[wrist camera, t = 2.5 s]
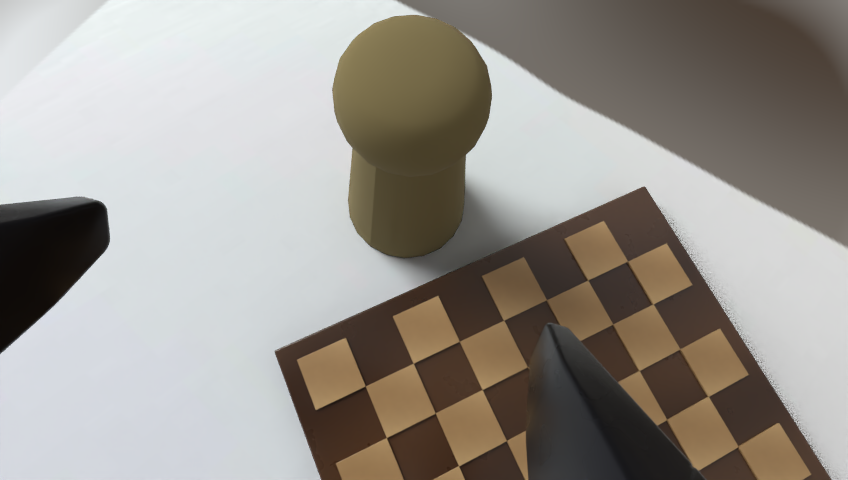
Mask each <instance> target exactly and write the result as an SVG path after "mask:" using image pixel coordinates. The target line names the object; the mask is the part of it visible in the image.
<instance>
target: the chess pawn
mask: <svg viewBox="0 0 848 480" xmlns="http://www.w3.org/2000/svg"><path fill="white" fill-rule="evenodd" d="M332 91H333V101H334V111H335V115H336V119H337V122H338V124H339V126H340V128H341V130H342V132H343V134H344V136H345V138H346V140H347V142H348V143H349V144H350V145H351V147H352V148H353V149H352V161H351V173H350V184H349V196H348V203H349V213H350V218H351V220H352V222H353V225H354V227H355V229H356V231H357V233H358V234H359V235H360V236H361V237H362V238H363V239H364V240H365V241H366V242H367V243H368V244H369V245H370V246H371V247H373V248H375V249H377V250H379V251H381V252H382V253H384V254H386V255H391V256H397V257H402V258H409V257H417V256H424V255H426V254H428V253H431V252H433V251H435V250H437V249H439V248H441V247H442V246H443V245H444V244H445V243H446V242H447V241H448V240H449V239H451V238H452V237H453V236H454V234H455V232H456V230H457V228H458V226H459V224H460V223H461V221H462V215H463V208H464V193H465V161H466V154H467V153H468V152H469V151H470V150H471V149H472V148H473V147H474V146H475V145H476V143H477V141H478V139H479V138H480V136H481V134H482V132H483V130H484V129H485V127H486V124H487V121H488V119H489V113H490V106H491V100H492V90H491V83H490V78H489V74H488V69H487V65H486V64H485V62H484V60H483V59H482V57H481V56H480V54H479V52H478V51H477V49H476V47H475V46H474V45H473V43H472V42H471V41H470V40H469V39H468V38H467V37H466V36H465V35H463V34H462V33H461V32H460V31H459V30H458V29H456V28H455V27H453V26H451V25H449V24H446V23H445V22H442V21H440V20H438V19H435V18H430V17H424V16H419V15H406V16H394V17H391V18H388V19H385V20H382V21H380V22H377V23H374V24H373V25H371V26H370V27H369V28H367V29H366V30H364V31H363V32H362V33H360V34H359V35H358V36H357V37H356V38H355V39H354V40H353V41H352V42H351V44H350V45H349V46H348V48H347V49H346V51H345V52H344V53H343V55H342V56H341V58H340V60H339V63H338V67H337V71H336V74H335V78H334V83H333V88H332Z"/></svg>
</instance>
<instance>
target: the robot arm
mask: <svg viewBox="0 0 848 480" xmlns="http://www.w3.org/2000/svg"><path fill="white" fill-rule="evenodd" d="M109 242H110V233H109V224H108V215H107V208H106V206H105V205H104V204H103V203H102V202H100V201H97V200H93V199H90V198H86V197H71V198H61V199H52V200H42V201H32V202H23V203H13V204H3V205H0V354H1V353H2V352H3V351H4V350H5V349H6V348H8V347H9V346H10V345H11V344H12V343H13V342H14V341H15V340H17V339H18V338H19V337H20V336H21V335H22V334H23V333H24V332H26V331H27V330H28V329H29V328H30V327H31V326H32V325H33V324H35V323H36V322H37V321H38V320H39V319H40V318H41V317H42V316H44V315H45V314H46V313H47V312H48V311H49V310H50V309H51V308H52V307H53V306H54V305H55V304H56V303H57V302H58V301H59V300H60V299H61V298H62V297H63V296H64V295H65V294H66V293H67V292H68V291H69V290H70V288H71V287H72V286H73V285H74V284H75V283H76V282H77V281H78V280H79V279H80V278H81V277H82V276H83V274H84V273H85V272H86V271H87V270H88V269H89V268H90V267H91V266H92V265H93V264H94V263H95V261H96V260H97V259H98V258H99V257H100V256H101V255H102V254H103V253H104V252H105V250H106V249H107V247H108V245H109ZM526 452H527V467H528V480H706V478H705V477H704V476H703V475H702V474H701V473H700V472H699V471H698V470H697V469H696V468H695V467H693V468H692V463H691V462H690V461H689V460H688V459H687V458H686V457H685V455H684V454H683V453H682V452H681V451H680V450H679V449H678V448H677V447H676V446H675V444H674V443H673V442H672V441H671V440H670V439H669V438H668V437H667V436H666V435H665V434H664V432H663V431H662V430H661V429H660V428H659V427H658V426H657V425H656V424H655V423H654V421H653V420H652V419H651V418H650V417H649V416H648V415H647V414H646V413H645V412H644V410H643V409H642V408H641V407H640V406H639V405H638V404H637V403H636V402H635V401H634V399H633V398H632V397H631V396H630V395H629V394H628V393H627V392H626V391H625V390H624V388H623V387H622V386H621V385H620V384H619V383H618V382H617V381H616V380H615V379H614V377H613V376H612V375H611V374H610V373H609V372H608V371H607V370H606V369H605V368H604V366H603V365H602V364H601V363H600V362H599V361H598V360H597V359H596V358H595V357H594V356H593V354H592V353H591V352H590V351H589V350H588V349H587V348H586V347H585V346H584V345H583V343H582V342H581V341H580V340H579V339H578V338H577V337H576V336H575V335H574V334H573V332H572V331H571V330H570V329H569V328H567V327H565V326H561V325H557V324H554V323H547V324H546V325H545V326H544V327H543V330H542V332H541V334H540V336H539V339H538V341H537V343H536V346H535V348H534V350H533V352H532V355H531V359H530V364H529V380H528V398H527V417H526Z"/></svg>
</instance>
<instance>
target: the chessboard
mask: <svg viewBox="0 0 848 480" xmlns="http://www.w3.org/2000/svg"><path fill="white" fill-rule="evenodd" d="M547 323H554V324H557V325H561V326H565V327H567V328H569V329H570V330H571V331H572V332H573V334H574V335H575V336H576V337H577V338H578V339H579V340H580V341H581V342H582V343H583V345H584V346H585V347H586V348H587V349H588V350H589V351H590V352H591V353H592V354H593V356H594V357H595V358H596V359H597V360H598V361H599V362H600V363H601V364H602V365H603V366H604V368H605V369H606V370H607V371H608V372H609V373H610V374H611V375H612V376H613V377H614V379H615V380H616V381H617V382H618V383H619V384H620V385H621V386H622V387H623V388H624V390H625V391H626V392H627V393H628V394H629V395H630V396H631V397H632V398H633V399H634V401H635V402H636V403H637V404H638V405H639V406H640V407H641V408H642V409H643V410H644V412H645V413H646V414H647V415H648V416H649V417H650V418H651V419H652V420H653V421H654V423H655V424H656V425H657V426H658V427H659V428H660V429H661V430H662V431H663V432H664V434H665V435H666V436H667V437H668V438H669V439H670V440H671V441H672V442H673V443H674V444H675V446H676V447H677V448H678V449H679V450H680V451H681V452H682V453H683V454H684V455H685V457H686V458H687V459H688V460H689V461H690V462H691V463H692V468H693V467H695V468H696V469H697V470H698V471H699V472H700V473H701V474H702V475H703V476H704V477H705V478H706V480H831V478H830V477H829V475H828V474H827V472H826V471H825V469H824V467H823V466H822V464H821V463H820V461H819V460H818V458H817V456H816V455H815V453H814V452H813V450H812V449H811V447H810V445H809V444H808V442H807V441H806V439H805V438H804V436H803V434H802V433H801V431H800V430H799V428H798V426H797V425H796V423H795V422H794V420H793V419H792V417H791V415H790V414H789V412H788V411H787V409H786V408H785V406H784V404H783V403H782V401H781V400H780V398H779V397H778V395H777V393H776V392H775V390H774V389H773V387H772V386H771V384H770V382H769V381H768V379H767V378H766V376H765V375H764V373H763V371H762V370H761V368H760V367H759V365H758V364H757V362H756V360H755V359H754V357H753V356H752V354H751V353H750V351H749V349H748V348H747V346H746V345H745V343H744V342H743V340H742V338H741V337H740V335H739V334H738V332H737V331H736V329H735V327H734V326H733V324H732V323H731V321H730V320H729V318H728V316H727V315H726V313H725V312H724V310H723V309H722V307H721V305H720V304H719V302H718V301H717V299H716V298H715V296H714V294H713V293H712V291H711V290H710V288H709V287H708V285H707V283H706V282H705V280H704V279H703V277H702V276H701V274H700V272H699V271H698V269H697V268H696V266H695V265H694V263H693V261H692V260H691V258H690V257H689V255H688V254H687V252H686V250H685V249H684V247H683V246H682V244H681V243H680V241H679V239H678V238H677V236H676V235H675V233H674V231H673V230H672V228H671V227H670V225H669V224H668V222H667V220H666V219H665V217H664V216H663V214H662V213H661V211H660V209H659V208H658V206H657V205H656V203H655V202H654V200H653V198H652V197H651V195H650V194H649V192H648V191H647V189H646V187H641V188H639V189H637V190H635V191H632V192H630V193H628V194H626V195H624V196H621V197H619V198H617V199H615V200H612V201H610V202H608V203H606V204H603V205H601V206H599V207H597V208H594V209H592V210H590V211H588V212H585V213H583V214H581V215H579V216H576V217H574V218H572V219H570V220H567V221H565V222H563V223H561V224H558V225H556V226H554V227H552V228H549V229H547V230H545V231H543V232H540V233H538V234H536V235H534V236H531V237H529V238H527V239H525V240H522V241H520V242H518V243H516V244H513V245H511V246H509V247H507V248H504V249H502V250H500V251H498V252H495V253H493V254H491V255H489V256H486V257H484V258H482V259H480V260H477V261H475V262H473V263H471V264H468V265H466V266H464V267H462V268H459V269H457V270H455V271H453V272H450V273H448V274H446V275H444V276H441V277H439V278H437V279H435V280H432V281H430V282H428V283H426V284H423V285H421V286H419V287H417V288H414V289H412V290H410V291H408V292H405V293H403V294H401V295H399V296H397V297H394V298H392V299H390V300H388V301H385V302H383V303H381V304H379V305H376V306H374V307H372V308H370V309H367V310H365V311H363V312H361V313H358V314H356V315H354V316H352V317H349V318H347V319H345V320H343V321H340V322H338V323H336V324H334V325H331V326H329V327H327V328H325V329H322V330H320V331H318V332H316V333H313V334H311V335H309V336H307V337H304V338H302V339H300V340H298V341H295V342H293V343H291V344H289V345H286V346H284V347H282V348H280V349H277V350H275V355H276V357H277V360H278V363H279V365H280V368H281V371H282V374H283V376H284V379H285V382H286V385H287V387H288V390H289V393H290V396H291V398H292V401H293V404H294V407H295V409H296V412H297V415H298V417H299V420H300V423H301V426H302V428H303V431H304V434H305V437H306V439H307V442H308V445H309V448H310V450H311V453H312V456H313V459H314V461H315V464H316V467H317V469H318V472H319V475H320V478H321V480H528V467H527V452H526V417H527V398H528V380H529V364H530V359H531V355H532V352H533V350H534V348H535V346H536V343H537V341H538V339H539V336H540V334H541V332H542V330H543V327H544V326H545V325H546V324H547Z"/></svg>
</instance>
